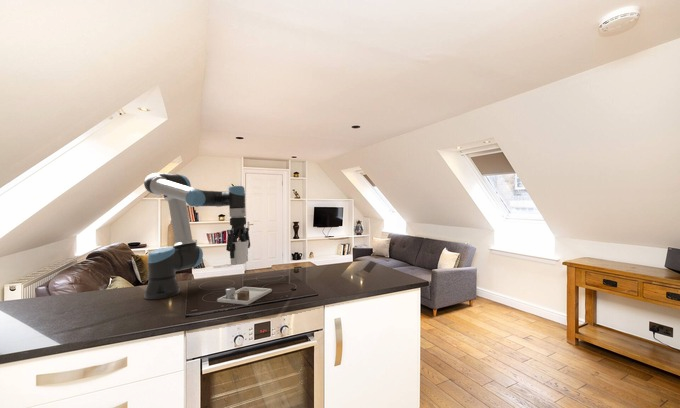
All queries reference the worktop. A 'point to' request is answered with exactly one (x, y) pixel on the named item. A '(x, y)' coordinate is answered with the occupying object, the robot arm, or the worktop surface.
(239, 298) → the walnut block
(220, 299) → the tray
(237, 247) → the cup
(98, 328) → the worktop surface
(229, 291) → the metal spacer
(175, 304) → the worktop surface
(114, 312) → the worktop surface
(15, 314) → the worktop surface
